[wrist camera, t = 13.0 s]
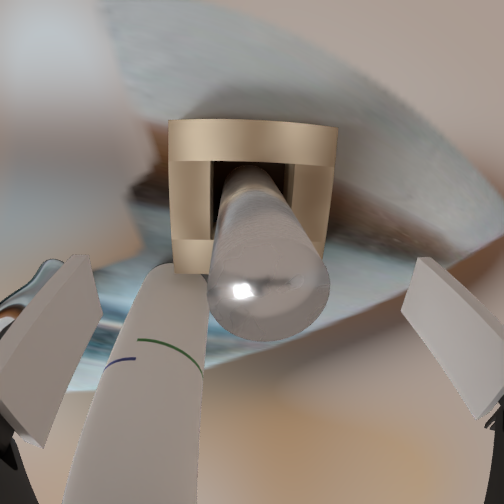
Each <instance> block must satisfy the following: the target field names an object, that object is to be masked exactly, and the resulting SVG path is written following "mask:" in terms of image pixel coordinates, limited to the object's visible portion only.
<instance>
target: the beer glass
mask: <svg viewBox="0 0 504 504" xmlns="http://www.w3.org/2000/svg"><path fill="white" fill-rule="evenodd" d="M63 264H64V262H62V261H60V260H57V259H49V260H46V261H45V262H43V264H41V266H40V267H39V269H38V270H37V272H36V274H35V275H34V277H33V278H32V279H31V280H30V281H29V282H28V283H27V284H26V285H24V286H23V287H21V288H20V289H18V290H17V291H15V292H14V293H12V294H11V295H9V296H8V297H6V298H5V299H4V300H2V301H1V302H0V332H1V331H2V329H3V328H4V327H6V326H7V325H8V324H10V323H11V322H12V321H14V320H16V319H17V317H18V316H19V315H20V314H21V312H22V311H23V310H24V309H25V307H26V306H27V305H28V304H29V303H30V301H31V300H32V299H33V298H34V297H35V295H36V294H37V293H38V292H39V291H40V290H41V288H42V287H43V286H44V285H45V284H46V283H47V282H48V281H49V279H50V278H51V277H52V276H53V275H54V274H55V273H56V272H57V271H58V270H59V269H60V267H61V266H62V265H63Z"/></svg>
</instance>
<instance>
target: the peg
mask: <svg viewBox="0 0 504 504" xmlns="http://www.w3.org/2000/svg"><path fill="white" fill-rule="evenodd" d="M329 292H330V279H329V274H328V271H327V268H326V266H325V265H324V263H323V261H322V259H321V258H320V256H319V254H318V252H317V251H316V249H315V247H314V246H313V244H312V242H311V241H310V239H309V237H308V236H307V234H306V232H305V231H304V229H303V228H302V226H301V224H300V223H299V221H298V219H297V218H296V216H295V215H294V213H293V211H292V210H291V208H290V207H289V205H288V203H287V202H286V200H285V199H284V197H283V195H282V194H281V192H280V191H279V189H278V188H277V186H276V185H275V183H274V181H273V180H272V178H271V177H270V175H269V174H268V173H267V172H266V171H265V170H263V169H262V168H260V167H257V166H254V165H244V166H240V167H238V168H236V169H234V170H233V171H231V172H230V173H229V174H228V176H227V177H226V179H225V181H224V185H223V190H222V195H221V201H220V207H219V213H218V219H217V225H216V231H215V237H214V243H213V250H212V256H211V263H210V269H209V276H208V283H207V302H208V306H209V309H210V311H211V313H212V315H213V316H214V318H215V319H216V321H217V322H218V323H219V324H220V325H221V326H222V327H223V328H224V329H226V330H227V331H229V332H230V333H232V334H234V335H236V336H238V337H241V338H244V339H247V340H252V341H264V342H266V341H276V340H281V339H285V338H288V337H291V336H293V335H295V334H297V333H299V332H301V331H303V330H304V329H306V328H307V327H308V326H310V325H311V324H312V323H313V322H314V321H315V320H316V319H317V318H318V316H319V315H320V314H321V312H322V311H323V309H324V307H325V305H326V303H327V300H328V297H329Z"/></svg>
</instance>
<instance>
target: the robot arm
mask: <svg viewBox="0 0 504 504" xmlns="http://www.w3.org/2000/svg"><path fill="white" fill-rule="evenodd" d="M401 312H402V313H403V315H404V316H405V317H406V318H407V320H408V321H409V323H410V324H411V325H412V327H413V328H414V329H415V331H416V332H417V333H418V335H419V336H420V338H421V339H422V340H423V342H424V343H425V344H426V346H427V347H428V349H429V350H430V351H431V353H432V354H433V356H434V357H435V359H436V360H437V361H438V363H439V364H440V366H441V367H442V369H443V370H444V372H445V373H446V375H447V376H448V377H449V379H450V380H451V382H452V384H453V385H454V387H455V388H456V390H457V391H458V393H459V394H460V396H461V398H462V399H463V401H464V402H465V404H466V406H467V407H468V409H469V410H470V412H471V414H472V415H473V417H474V419H475V420H477V419H479V418H481V417H483V416H485V415H487V414H488V413H489V412H490V411H491V410H492V409H493V407H494V406H495V405H496V404H497V402H499V404H500V405H501V406H500V407H499V409H498V410H497V411H496V412H495V413H494V415H493V416H492V417H491V418H490V419H489V420H488V421H487V423H486V424H485V427H484V428H487V427H488V426H489V425H490V424H491V423H492V422H493V421H495V423H494V424H493V425H492V426H491V427H490V430H494V431H495V438H494V448H493V456H492V464H491V471H490V477H489V482H488V487H487V492H486V497H485V501H484V504H504V325H503V324H502V323H501V322H500V321H499V320H498V319H497V318H496V317H495V316H494V315H493V314H492V313H491V312H490V311H489V310H488V309H487V308H486V307H485V306H484V305H483V304H482V303H481V302H480V301H479V300H478V299H477V298H476V297H475V296H474V295H473V294H472V293H471V292H470V291H469V290H467V289H466V288H465V287H464V286H463V285H462V284H461V283H460V282H459V281H458V280H456V279H455V278H454V277H453V276H452V275H451V274H450V273H448V272H447V271H446V270H445V269H444V268H443V267H441V266H440V265H439V264H438V263H437V262H436V261H434V260H433V259H432V258H431V257H418V258H417V262H416V265H415V269H414V272H413V275H412V279H411V282H410V285H409V288H408V291H407V294H406V297H405V300H404V303H403V306H402V309H401ZM102 315H103V312H102V309H101V305H100V301H99V297H98V293H97V289H96V285H95V281H94V277H93V272H92V268H91V263H90V258H89V255H72V256H71V257H70V258H69V259H68V260H67V261H66V262H65V263H64V264H63V265H62V266H61V267H60V269H59V270H58V271H57V272H56V273H55V274H54V275H53V276H52V277H51V278H50V279H49V281H48V282H47V283H46V284H45V285H44V286H43V287H42V288H41V290H40V291H39V292H38V293H37V294H36V295H35V297H34V298H33V299H32V300H31V301H30V303H29V304H28V305H27V306H26V307H25V309H24V310H23V311H22V312H21V314H20V315H19V316H18V317H17V319H16V320H14V321H12V322H11V323H10V324H8V325H7V326H6V327H4V328H3V329H2V331H1V332H0V504H39V503H38V501H37V499H36V496H35V494H34V492H33V489H32V487H31V485H30V482H29V479H28V477H27V474H26V471H25V468H24V465H23V462H22V459H21V456H20V453H19V450H18V447H17V444H16V442H15V440H14V439H13V438H12V436H13V433H14V431H15V432H16V433H17V434H18V435H19V436H20V437H21V438H22V439H23V440H24V441H25V442H27V443H30V444H32V445H35V446H37V447H40V448H44V446H45V443H46V441H47V438H48V435H49V432H50V430H51V427H52V424H53V421H54V419H55V416H56V414H57V411H58V409H59V406H60V404H61V402H62V399H63V397H64V394H65V392H66V390H67V387H68V385H69V383H70V381H71V378H72V376H73V374H74V372H75V370H76V367H77V365H78V363H79V361H80V359H81V357H82V355H83V353H84V351H85V349H86V347H87V345H88V343H89V341H90V339H91V337H92V335H93V333H94V331H95V329H96V327H97V325H98V323H99V321H100V319H101V317H102Z"/></svg>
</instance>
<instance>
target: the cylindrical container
mask: <svg viewBox="0 0 504 504" xmlns="http://www.w3.org/2000/svg"><path fill="white" fill-rule="evenodd" d="M208 319H209V306H208V302H207V282H206V280H205V279H204V278H203V276H202V275H201V274H174V263H167V264H162V265H159V266H157V267H155V268H154V269H152V270H151V271H150V272H149V273H148V274H147V276H146V277H145V279H144V281H143V283H142V285H141V287H140V289H139V291H138V294H137V296H136V298H135V300H134V302H133V304H132V306H131V308H130V311H129V313H128V315H127V317H126V319H125V322H124V324H123V326H122V328H121V331H120V333H119V335H118V337H117V340H116V342H115V344H114V347H113V349H112V352H111V354H110V356H109V359H108V361H107V364H106V366H105V369H104V371H103V374H102V376H101V379H100V382H99V384H98V387H97V389H96V392H95V395H94V397H93V400H92V403H91V406H90V409H89V412H88V414H87V417H86V420H85V423H84V426H83V429H82V432H81V435H80V438H79V441H78V445H77V448H76V451H75V455H74V458H73V461H72V465H71V469H70V472H69V476H68V480H67V484H66V488H65V492H64V496H63V500H62V504H197V477H198V454H199V434H200V418H201V403H202V388H203V374H204V363H205V351H206V340H207V329H208Z"/></svg>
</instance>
